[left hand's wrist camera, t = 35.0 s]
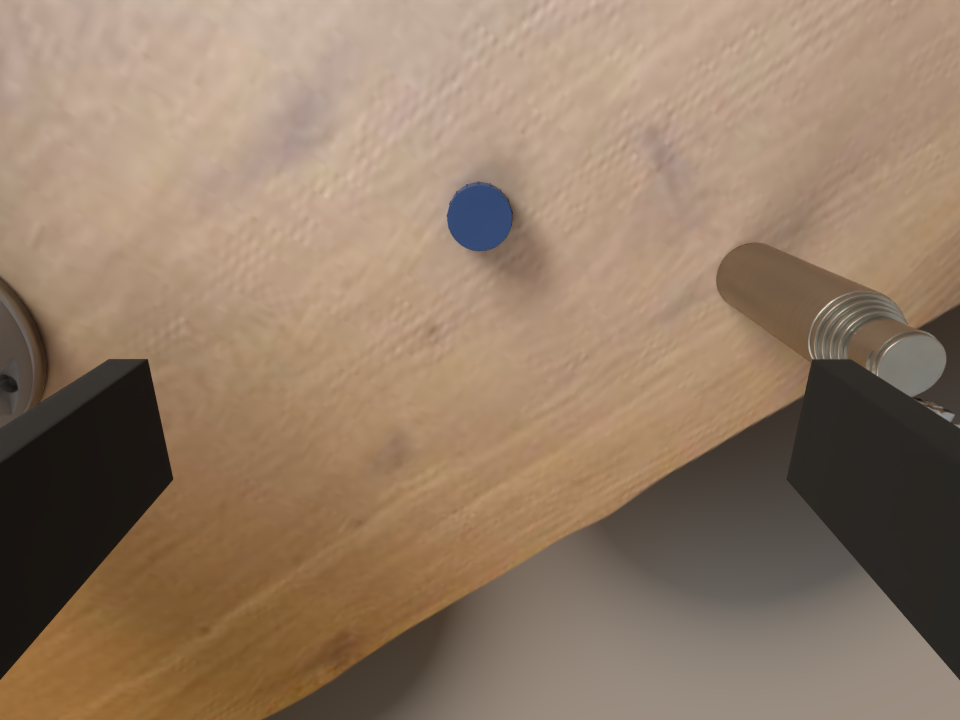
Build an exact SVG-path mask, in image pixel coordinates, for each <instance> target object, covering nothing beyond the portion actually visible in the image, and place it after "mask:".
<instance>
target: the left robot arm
mask: <svg viewBox="0 0 960 720" xmlns="http://www.w3.org/2000/svg"><path fill="white" fill-rule="evenodd" d="M46 375H47V363H46V355H45V350H44V345H43V342H42V339H41V336H40V333H39V331H38V329H37V326H36V324H35V322H34V320H33V318H32V317H31V315H30V313H29V312H28V310H27V309H26V307H25V306H24V304H23V303H22V302H21V300H20V299H19V298H18V296H17V295H16V294H15V293H14V292H13V291H12V290H11V288H10V287H9V286H8V285H7V284H6V283H5V282H4V281H3V280H1V279H0V680H1V678H2V677H3V676H4V675H5V674H6V673H7V672H8V670H9V669H10V668H11V667H12V666H13V665H14V663H15V662H16V661H17V660H18V659H19V658H20V656H21V655H22V654H23V653H24V652H25V651H26V649H27V648H28V647H29V646H30V645H31V644H32V643H33V641H34V640H35V639H36V638H37V637H38V636H39V634H40V633H41V632H42V631H43V630H44V629H45V627H46V626H47V625H48V624H49V623H50V622H51V621H52V619H53V618H54V617H55V616H56V615H57V614H58V612H59V611H60V610H61V609H62V608H63V607H64V605H65V604H66V603H67V602H68V601H69V600H70V599H71V597H72V596H73V595H74V594H75V593H76V592H77V590H78V589H79V588H80V587H81V586H82V585H83V583H84V582H85V581H86V580H87V579H88V578H89V576H90V575H91V574H92V573H93V572H94V571H95V570H96V568H97V567H98V566H99V565H100V564H101V563H102V561H103V560H104V559H105V558H106V557H107V556H108V554H109V553H110V552H111V551H112V550H113V549H114V548H115V546H116V545H117V544H118V543H119V542H120V541H121V539H122V538H123V537H124V536H125V535H126V534H127V532H128V531H129V530H130V529H131V528H132V527H133V526H134V524H135V523H136V522H137V521H138V520H139V519H140V517H141V516H142V515H143V514H144V513H145V512H146V510H147V509H148V508H149V507H150V506H151V505H152V504H153V502H154V501H155V500H156V499H157V498H158V497H159V495H160V494H161V493H162V492H163V491H164V490H165V488H166V487H167V486H168V485H169V484H170V483H171V481H172V480H173V476H172V471H171V466H170V462H169V457H168V452H167V448H166V443H165V438H164V433H163V429H162V424H161V419H160V415H159V410H158V405H157V401H156V396H155V391H154V386H153V382H152V377H151V372H150V368H149V363H148V359H109V360H107V361H105V362H104V363H102V364H101V365H99V366H98V367H96V368H94V369H93V370H91V371H90V372H88V373H86V374H85V375H83V376H82V377H80V378H79V379H77V380H75V381H74V382H72V383H71V384H69V385H68V386H66V387H64V388H63V389H61V390H60V391H58V392H57V393H55V394H53V395H52V396H50V397H49V398H47V399H45V400H44V401H42V402H41V403H39V401H40V399H41V397H42V394H43V391H44V387H45V383H46ZM38 403H39V404H38ZM787 480H788V481H789V483H790V484H791V485H792V486H793V487H794V488H795V490H796V491H797V492H798V493H799V494H800V495H801V497H802V498H803V499H804V500H805V501H806V502H807V503H808V505H809V506H810V507H811V508H812V509H813V510H814V512H815V513H816V514H817V515H818V516H819V517H820V519H821V520H822V521H823V522H824V523H825V524H826V525H827V527H828V528H829V529H830V530H831V531H832V532H833V534H834V535H835V536H836V537H837V538H838V539H839V541H840V542H841V543H842V544H843V545H844V546H845V548H846V549H847V550H848V551H849V552H850V553H851V554H852V556H853V557H854V558H855V559H856V560H857V561H858V563H859V564H860V565H861V566H862V567H863V568H864V570H865V571H866V572H867V573H868V574H869V575H870V576H871V578H872V579H873V580H874V581H875V582H876V583H877V585H878V586H879V587H880V588H881V589H882V590H883V592H884V593H885V594H886V595H887V596H888V597H889V599H890V600H891V601H892V602H893V603H894V604H895V605H896V607H897V608H898V609H899V610H900V611H901V612H902V614H903V615H904V616H905V617H906V618H907V619H908V620H909V622H910V623H911V624H912V625H913V626H914V627H915V629H916V630H917V631H918V632H919V633H920V634H921V636H922V637H923V638H924V639H925V640H926V641H927V642H928V644H929V645H930V646H931V647H932V648H933V649H934V651H935V652H936V653H937V654H938V655H939V656H940V658H941V659H942V660H943V661H944V662H945V663H946V664H947V666H948V667H949V668H950V669H951V670H952V672H953V673H954V674H955V675H956V676H957V677H958V678H959V680H960V428H959V427H957V426H956V425H954V424H952V423H951V422H949V421H948V420H946V419H944V418H943V417H941V416H940V415H938V414H937V413H935V412H933V411H932V410H930V409H929V408H927V407H926V406H924V405H922V404H921V403H919V402H918V401H916V400H915V399H913V398H911V397H910V396H908V395H907V394H905V393H903V392H902V391H900V390H899V389H897V388H896V387H894V386H892V385H891V384H889V383H888V382H886V381H885V380H883V379H881V378H880V377H878V376H877V375H875V374H874V373H872V372H870V371H869V370H867V369H866V368H864V367H862V366H861V365H859V364H858V363H856V362H855V361H853V360H851V359H812V363H811V368H810V372H809V377H808V382H807V386H806V391H805V396H804V401H803V405H802V410H801V415H800V419H799V424H798V429H797V433H796V438H795V443H794V448H793V452H792V457H791V462H790V466H789V471H788V476H787Z"/></svg>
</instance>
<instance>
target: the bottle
mask: <svg viewBox="0 0 960 720" xmlns="http://www.w3.org/2000/svg"><path fill="white" fill-rule="evenodd" d="M716 281H717V288H718V291H719V293H720V295H721V296H722V298H723V299H724V300H725V301H726V302H728V303H729V304H730V305H732V306H733V307H734V308H736V309H737V310H739V311H740V312H741V313H743V314H744V315H746V316H747V317H748V318H750V319H751V320H753V321H754V322H755V323H757V324H758V325H759V326H761V327H762V328H764V329H765V330H766V331H768V332H769V333H771V334H772V335H773V336H775V337H776V338H778V339H779V340H780V341H782V342H783V343H784V344H786V345H787V346H789V347H790V348H791V349H793V350H794V351H796V352H797V353H798V354H800V355H801V356H802V357H804V358H805V359H807V360H808V361H809V362H811V363H812V359H851V360H853V361H855V362H856V363H858V364H859V365H861V366H862V367H864V368H866V369H867V370H869V371H870V372H872V373H874V374H875V375H877V376H878V377H880V378H881V379H883V380H885V381H886V382H888V383H889V384H891V385H892V386H894V387H896V388H897V389H899V390H900V391H902V392H903V393H905V394H907V395H908V396H910V397H914V396H916V395H918V394H920V393H922V392H924V391H926V390H927V389H929V388H930V387H931V386H933V385H934V384H935V383H936V382H937V380H938V379H939V378H940V376H941V375H942V373H943V371H944V368H945V365H946V353H945V350H944V347H943V346H942V344H941V343H940V342H939V341H938V340H937V339H936V338H935V337H934V336H933V335H931V334H930V333H928V332H925V331H921V330H916V329H914V328H912V327H910V326H908V324H907V322H906V320H905V318H904V316H903V314H902V312H901V310H900V308H899V307H898V306H897V305H896V304H895V303H894V302H893V301H892V300H891V299H890V298H888V297H887V296H886V295H884V294H882V293H879V292H877V291H875V290H872V289H870V288H868V287H865V286H863V285H861V284H858V283H856V282H853V281H851V280H849V279H846V278H844V277H842V276H839V275H837V274H834V273H832V272H830V271H827V270H825V269H823V268H820V267H818V266H815V265H813V264H811V263H808V262H806V261H804V260H801V259H799V258H796V257H794V256H792V255H789V254H787V253H785V252H782V251H780V250H777V249H775V248H773V247H770V246H768V245H765V244H762V243H749V244H745V245H742V246H739V247H737V248H736V249H734V250H733V251H731V252H730V253H729V254H728V255H727V256H726V257H725V258H724V260H723V261H722V263H721V264H720V267H719V269H718V272H717V280H716Z"/></svg>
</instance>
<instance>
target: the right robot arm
mask: <svg viewBox="0 0 960 720" xmlns="http://www.w3.org/2000/svg"><path fill="white" fill-rule="evenodd" d="M913 399H915V400H916V401H918V402H919V403H921V404H922V405H924V406H926V407H927V408H929V409H930V410H932V411H933V412H935V413H937V414H938V415H940V416H941V417H943V418H944V419H946V420H948V421H949V422H951V421H952V420H953V418H954V416H955V414H953V413H952V412H950V411H949V410H946V409H943V407H942V406H940V405H939V404H937V403H935V402H931V401H927V400H926V401H923V400H921V399H919V398H913ZM954 425H956V424H954ZM956 426H957V427H959V428H960V424H959V425H956Z"/></svg>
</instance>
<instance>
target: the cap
mask: <svg viewBox="0 0 960 720" xmlns="http://www.w3.org/2000/svg"><path fill="white" fill-rule="evenodd" d="M449 205H450V206H449V210H448V214H447V221H448V226H449V227H448V228H449V230H450V232H451V234H452V236H453V237H454V239H455V240H456V241H457V242H458V243H459V244H461V245H462V246H464V247H465V248H468V249H470V250H475V251H485V250H489V249H492V248H494V247H496V246H498V245H499V244H500V243H501V242H502V241H503V240H504V239H505V238H506V237H507V235H508V233H509V231H510V228H511V226H512V214H513V212H512V210H511V208H510V205H509V200H508V198H506V196H505V195H504V194H503V193H502V191H501V189H500V190H499V189H498V188H497V187H495V186H493V185H491V183H490V184H488V183H482V182H477V183H472V184H469V185H468V184H466V186H465V187H463V188H462V189H460V190H459V191H457V192H456V194H455V196H454V197H453V199H452V201H450V204H449Z"/></svg>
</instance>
